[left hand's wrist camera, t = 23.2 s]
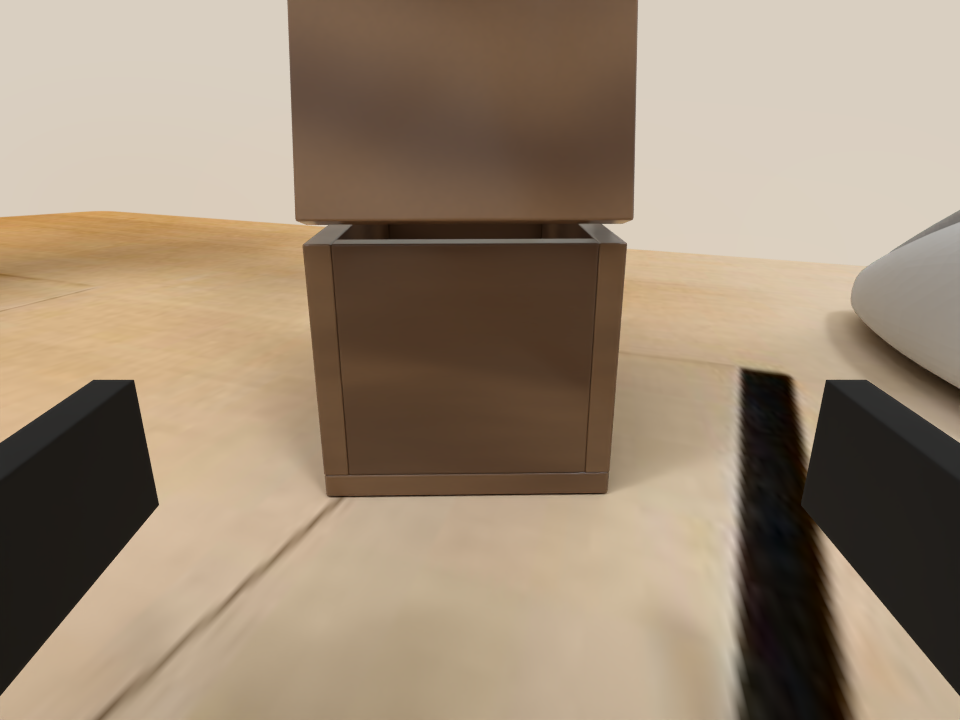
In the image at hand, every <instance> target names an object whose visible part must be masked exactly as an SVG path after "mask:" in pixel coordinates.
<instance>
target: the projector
mask: <svg viewBox="0 0 960 720" xmlns="http://www.w3.org/2000/svg"><path fill="white" fill-rule="evenodd" d="M851 305H852V307H853V309H854V311H855V313H856V314H857V315H858V316H859V317H860V318H861V320H862V321H863V322H864V323H865V324H866V325H867V326H868V327H869V328H870V329H872V330H873V331H874V332H875V333H876V334H877V335H879V336H880V337H881V338H882V339H884V340H885V341H886V342H887V343H888V344H890V345H891V346H893V347H894V348H895V349H897V350H898V351H899V352H901V353H902V354H904V355H905V356H907V357H908V358H910V359H911V360H913V361H914V362H916V363H917V364H919V365H920V366H922V367H924V368H925V369H927V370H929V371H930V372H932V373H934V374H935V375H937V376H939V377H940V378H942V379H944V380H946V381H947V382H949V383H951V384H952V385H954V386H956V387H957V388H959V389H960V210H959V211H957V212H955V213H954V214H952V215H950V216H948V217H947V218H945V219H943V220H941V221H940V222H938V223H936V224H934V225H933V226H931V227H929V228H928V229H926V230H924V231H923V232H921V233H919V234H918V235H916V236H914V237H913V238H911V239H910V240H908V241H906V242H905V243H903V244H902V245H900V246H898V247H897V248H896V249H894V250H892V251H891V252H890V253H888V254H887V255H885V256H883V257H881V258H880V259H878V260H876V261H875V262H873V263H872V264H870V265H869V266H867V267H866V268H865V269H863V270H862V271H861V272H860V273H859V275H858V276H857V278H856V280H855V282H854V285H853V288H852V292H851Z"/></svg>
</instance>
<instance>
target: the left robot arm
mask: <svg viewBox="0 0 960 720" xmlns="http://www.w3.org/2000/svg"><path fill="white" fill-rule="evenodd" d="M158 505H159V503H158V498H157V493H156V488H155V483H154V478H153V473H152V468H151V463H150V458H149V453H148V448H147V443H146V438H145V433H144V428H143V423H142V418H141V413H140V408H139V403H138V398H137V393H136V388H135V383H134V380H93V381H91V382H90V383H88V384H87V385H85V386H84V387H82V388H81V389H79V390H78V391H76V392H75V393H73V394H72V395H71V396H69V397H68V398H66V399H65V400H63V401H62V402H60V403H59V404H57V405H56V406H54V407H53V408H51V409H50V410H48V411H47V412H45V413H44V414H42V415H41V416H39V417H38V418H37V419H35V420H34V421H32V422H31V423H29V424H28V425H26V426H25V427H23V428H22V429H20V430H19V431H17V432H16V433H14V434H13V435H11V436H10V437H8V438H7V439H5V440H4V441H3V442H1V443H0V696H1V694H2V693H3V692H4V691H5V690H6V688H7V687H8V686H9V685H10V684H11V682H12V681H13V680H14V679H15V678H16V676H17V675H18V674H19V673H20V672H21V670H22V669H23V668H24V667H25V666H26V664H27V663H28V662H29V661H30V660H31V658H32V657H33V656H34V655H35V654H36V652H37V651H38V650H39V649H40V647H41V646H42V645H43V644H44V643H45V641H46V640H47V639H48V638H49V637H50V635H51V634H52V633H53V632H54V631H55V629H56V628H57V627H58V626H59V625H60V623H61V622H62V621H63V620H64V619H65V617H66V616H67V615H68V614H69V613H70V611H71V610H72V609H73V608H74V607H75V605H76V604H77V603H78V602H79V601H80V599H81V598H82V597H83V596H84V595H85V593H86V592H87V591H88V590H89V589H90V587H91V586H92V585H93V584H94V582H95V581H96V580H97V579H98V578H99V576H100V575H101V574H102V573H103V572H104V570H105V569H106V568H107V567H108V566H109V564H110V563H111V562H112V561H113V560H114V558H115V557H116V556H117V555H118V554H119V552H120V551H121V550H122V549H123V548H124V546H125V545H126V544H127V543H128V542H129V540H130V539H131V538H132V537H133V536H134V534H135V533H136V532H137V531H138V530H139V528H140V527H141V526H142V525H143V524H144V522H145V521H146V520H147V519H148V518H149V516H150V515H151V514H152V513H153V511H154V510H155V509H156V508H157V507H158ZM801 505H802V507H803V508H804V509H805V510H806V511H807V513H808V514H809V515H810V516H811V518H812V519H813V520H814V521H815V522H816V524H817V525H818V526H819V527H820V528H821V530H822V531H823V532H824V533H825V534H826V536H827V537H828V538H829V539H830V540H831V542H832V543H833V544H834V545H835V546H836V548H837V549H838V550H839V551H840V552H841V554H842V555H843V556H844V557H845V558H846V560H847V561H848V562H849V563H850V564H851V566H852V567H853V568H854V569H855V570H856V572H857V573H858V574H859V575H860V576H861V578H862V579H863V580H864V581H865V582H866V584H867V585H868V586H869V587H870V589H871V590H872V591H873V592H874V593H875V595H876V596H877V597H878V598H879V599H880V601H881V602H882V603H883V604H884V605H885V607H886V608H887V609H888V610H889V611H890V613H891V614H892V615H893V616H894V617H895V619H896V620H897V621H898V622H899V623H900V625H901V626H902V627H903V628H904V629H905V631H906V632H907V633H908V634H909V635H910V637H911V638H912V639H913V640H914V641H915V643H916V644H917V645H918V646H919V647H920V649H921V650H922V651H923V652H924V654H925V655H926V656H927V657H928V658H929V660H930V661H931V662H932V663H933V664H934V666H935V667H936V668H937V669H938V670H939V672H940V673H941V674H942V675H943V676H944V678H945V679H946V680H947V681H948V682H949V684H950V685H951V686H952V687H953V688H954V690H955V691H956V692H957V693H958V694H959V696H960V443H959V442H957V441H956V440H955V439H953V438H952V437H950V436H949V435H947V434H946V433H944V432H943V431H941V430H940V429H938V428H937V427H935V426H934V425H932V424H931V423H929V422H928V421H926V420H925V419H923V418H922V417H921V416H919V415H918V414H916V413H915V412H913V411H912V410H910V409H909V408H907V407H906V406H904V405H903V404H901V403H900V402H898V401H897V400H895V399H894V398H892V397H891V396H889V395H888V394H887V393H885V392H884V391H882V390H881V389H879V388H878V387H876V386H875V385H873V384H872V383H870V382H869V381H867V380H826V383H825V388H824V393H823V398H822V403H821V408H820V413H819V418H818V423H817V428H816V433H815V438H814V443H813V448H812V453H811V458H810V463H809V468H808V473H807V478H806V483H805V488H804V493H803V498H802V503H801Z"/></svg>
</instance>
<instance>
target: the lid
mask: <svg viewBox="0 0 960 720" xmlns="http://www.w3.org/2000/svg"><path fill="white" fill-rule="evenodd" d="M287 1H288V29H289V55H290V83H291V109H292V137H293V164H294V191H295V218H296V221H298V222H301V223H303V224H306V225H392V224H623V223H625V222H628V221H630V220H633V213H634V167H635V118H636V70H637V21H638V0H287Z"/></svg>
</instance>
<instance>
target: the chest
mask: <svg viewBox="0 0 960 720" xmlns="http://www.w3.org/2000/svg"><path fill="white" fill-rule="evenodd" d="M626 250H627V243H626V242H624V241H623V240H622V239H620V238H619V237H618V236H617V235H615V234H614V233H613V232H611V231H610V230H609V229H607V228H606V227H605V226H603V225H602V224H392V225H328V226H327V227H325V228H324V229H323V230H321V231H320V232H319V233H317V234H316V235H315V236H314V237H312V238H311V239H310V240H308V241H307V242H306V243H305V244H303V254H304V265H305V275H306V286H307V296H308V307H309V317H310V328H311V338H312V349H313V359H314V370H315V380H316V391H317V401H318V412H319V422H320V433H321V443H322V454H323V464H324V474H325V483H326V494H327V496H372V495H455V494H539V493H606V492H607V489H608V477H609V473H608V472H609V467H610V454H611V441H612V429H613V416H614V403H615V390H616V377H617V365H618V352H619V339H620V326H621V314H622V301H623V288H624V275H625V262H626Z"/></svg>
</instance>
